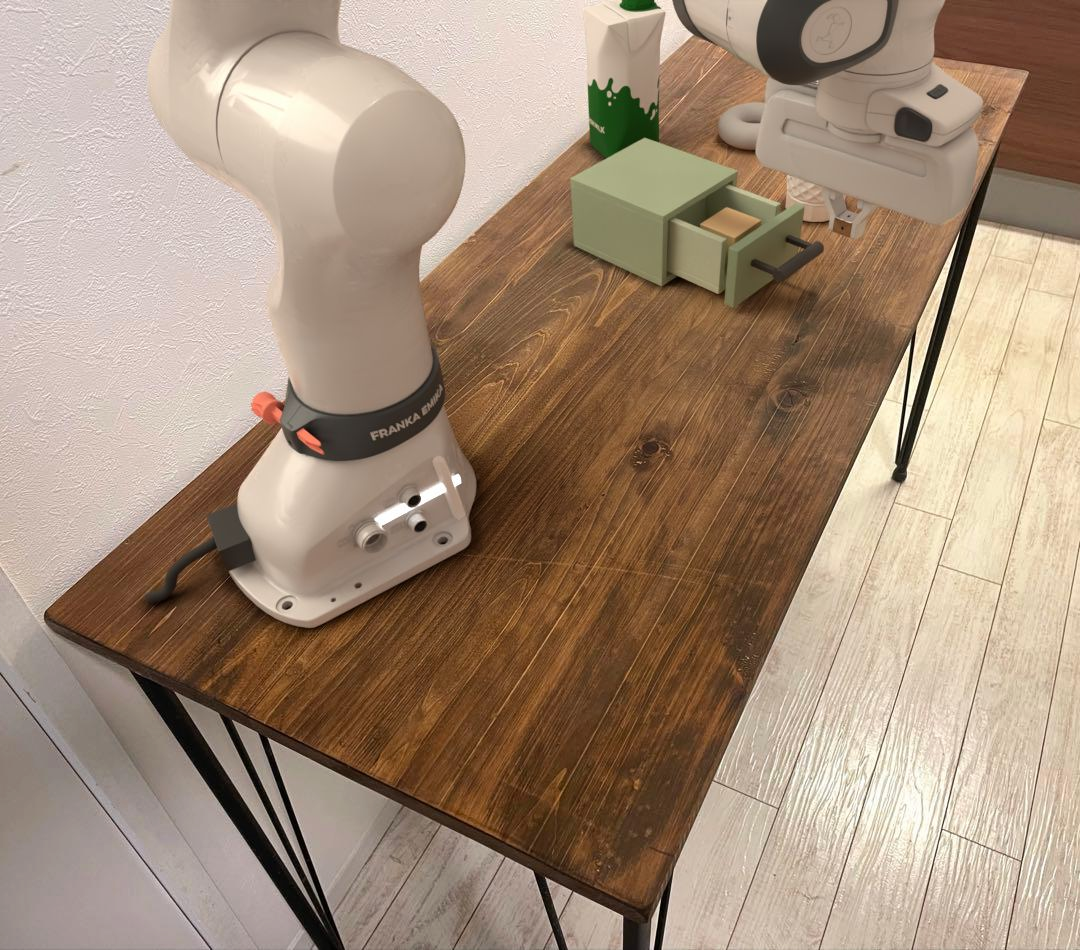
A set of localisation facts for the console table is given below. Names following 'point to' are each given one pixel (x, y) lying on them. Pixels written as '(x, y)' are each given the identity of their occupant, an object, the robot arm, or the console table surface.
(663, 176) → the cabinet
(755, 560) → the console table surface
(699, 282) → the drawer
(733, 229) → the block
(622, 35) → the milk carton
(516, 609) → the console table surface
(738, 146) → the donut
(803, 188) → the white cup
